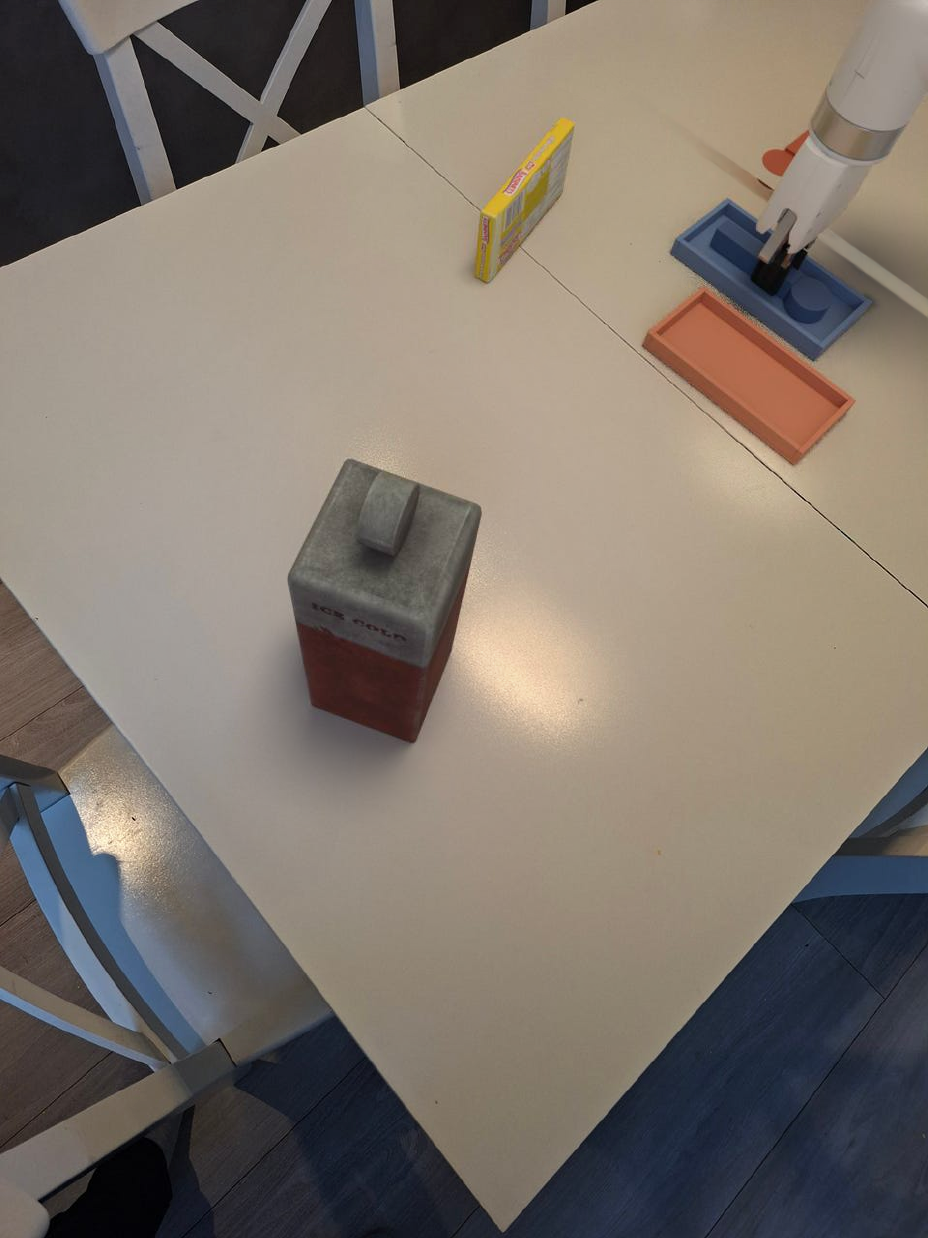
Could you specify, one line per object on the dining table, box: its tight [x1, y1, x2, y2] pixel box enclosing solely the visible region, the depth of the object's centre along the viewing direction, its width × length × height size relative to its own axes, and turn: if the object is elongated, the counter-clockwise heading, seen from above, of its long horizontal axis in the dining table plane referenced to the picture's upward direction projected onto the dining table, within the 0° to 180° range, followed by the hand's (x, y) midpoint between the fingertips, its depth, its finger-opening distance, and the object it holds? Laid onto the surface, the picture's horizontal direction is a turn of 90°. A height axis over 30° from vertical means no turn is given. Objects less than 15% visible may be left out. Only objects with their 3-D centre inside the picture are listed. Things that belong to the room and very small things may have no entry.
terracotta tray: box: [641, 285, 857, 466], centre depth 88 cm, size 19×9×2 cm, turn 46°
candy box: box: [474, 116, 576, 284], centre depth 90 cm, size 16×2×8 cm, turn 149°
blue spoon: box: [710, 220, 833, 323], centre depth 93 cm, size 14×4×2 cm, turn 46°
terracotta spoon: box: [756, 129, 810, 191], centre depth 102 cm, size 14×4×2 cm, turn 136°
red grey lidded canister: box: [287, 458, 483, 744], centre depth 60 cm, size 9×11×28 cm
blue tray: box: [669, 197, 873, 362], centre depth 93 cm, size 19×9×2 cm, turn 46°
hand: (770, 279), depth 93 cm, fingers closed on blue spoon, 2 cm apart
